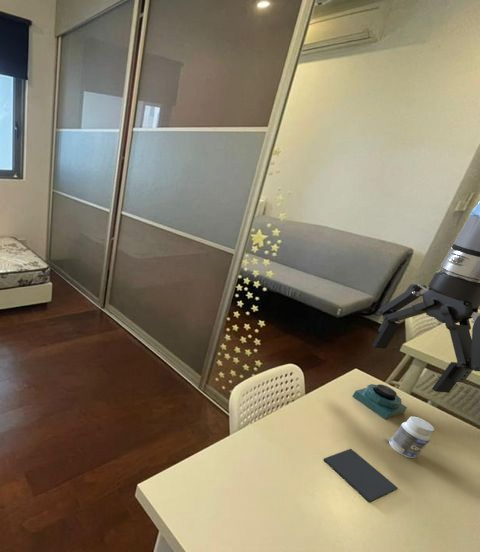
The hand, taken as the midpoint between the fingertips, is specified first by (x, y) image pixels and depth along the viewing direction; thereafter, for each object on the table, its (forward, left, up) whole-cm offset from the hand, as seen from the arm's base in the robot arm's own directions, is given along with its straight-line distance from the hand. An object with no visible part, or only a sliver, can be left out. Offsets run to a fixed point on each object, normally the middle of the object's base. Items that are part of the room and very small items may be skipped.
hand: (406, 367), depth 67 cm
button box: (+6, -16, -21) cm, 27 cm away
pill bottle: (-5, -6, -21) cm, 22 cm away
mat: (-6, +12, -21) cm, 25 cm away
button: (+6, -16, -17) cm, 24 cm away
